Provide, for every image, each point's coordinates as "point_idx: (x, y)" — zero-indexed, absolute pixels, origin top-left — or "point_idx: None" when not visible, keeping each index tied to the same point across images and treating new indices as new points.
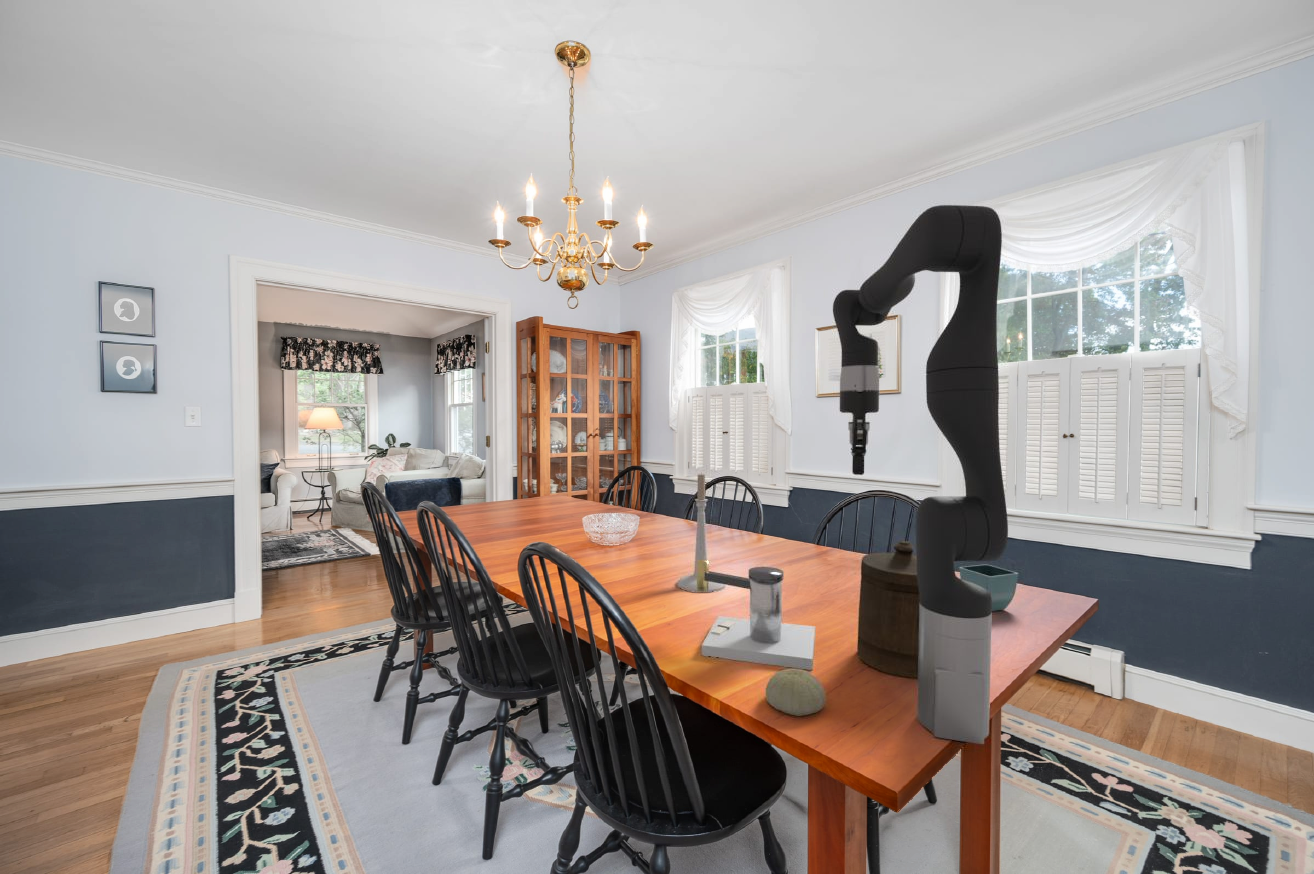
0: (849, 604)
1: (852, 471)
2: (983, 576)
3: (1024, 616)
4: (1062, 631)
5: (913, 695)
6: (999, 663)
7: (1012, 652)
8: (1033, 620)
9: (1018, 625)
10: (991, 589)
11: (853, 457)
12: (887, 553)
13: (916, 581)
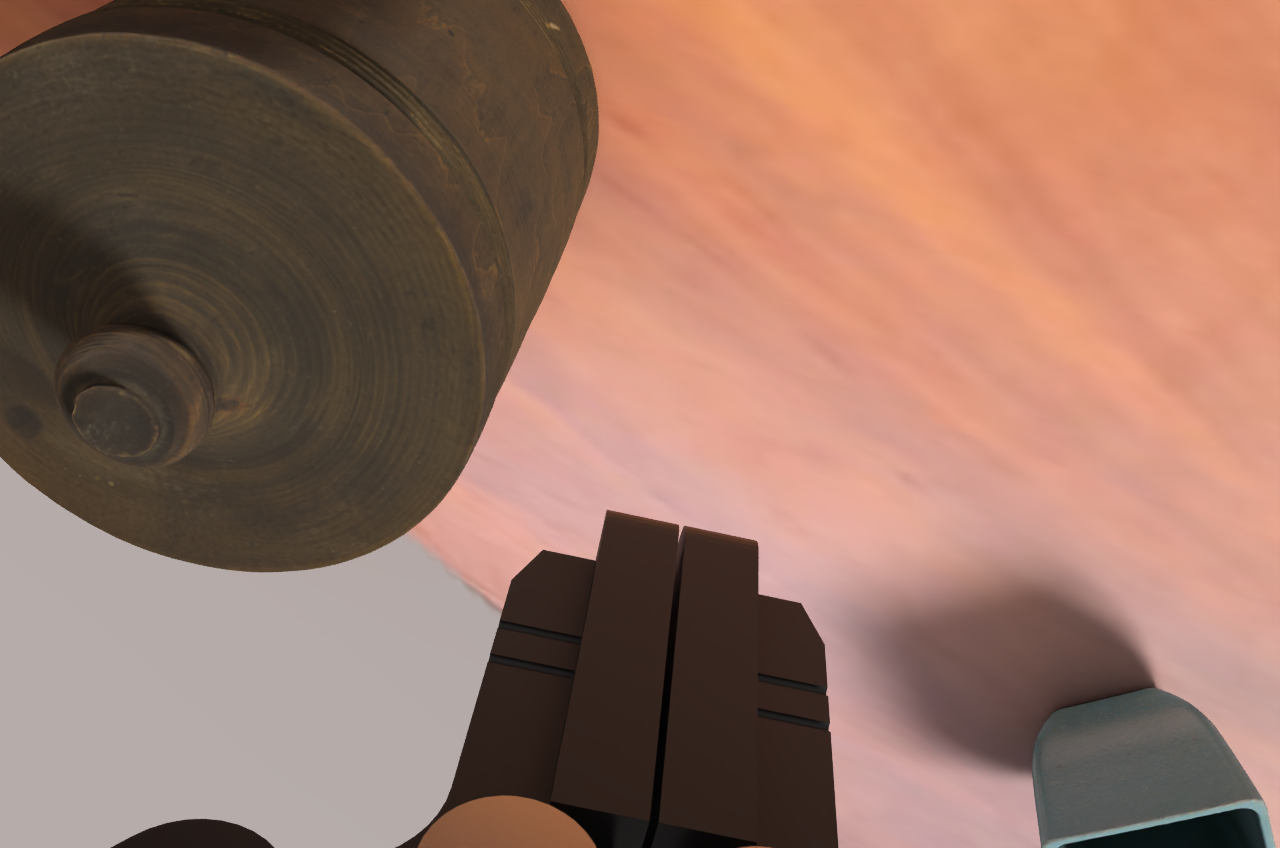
0: (1270, 65)
1: (673, 539)
2: (1077, 828)
3: (987, 801)
4: None
5: None
6: (457, 496)
7: None
8: (938, 806)
9: (879, 735)
10: (1035, 797)
11: (559, 791)
12: (440, 310)
13: None
